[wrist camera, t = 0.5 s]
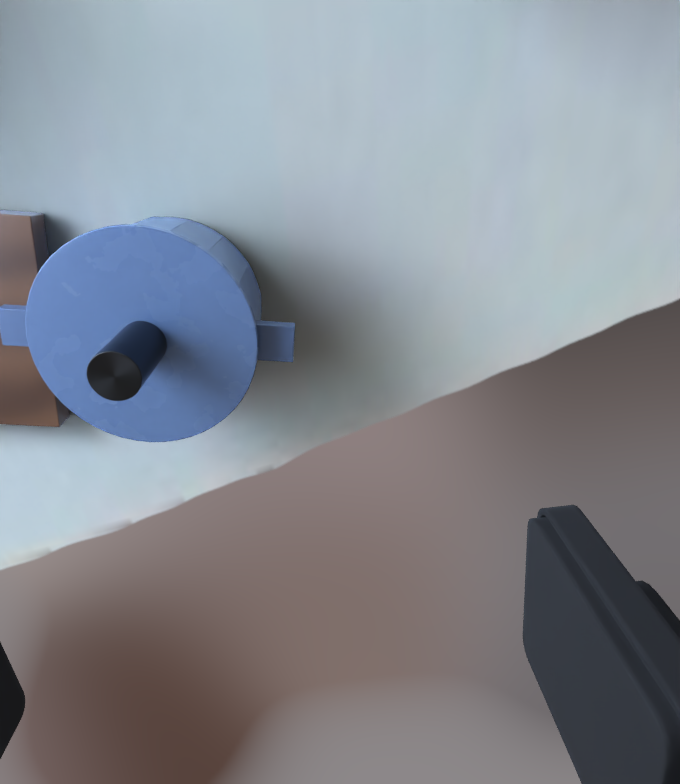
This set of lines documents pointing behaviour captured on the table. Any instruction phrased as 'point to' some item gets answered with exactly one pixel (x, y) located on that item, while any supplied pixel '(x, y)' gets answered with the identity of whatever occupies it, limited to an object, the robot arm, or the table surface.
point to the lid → (142, 333)
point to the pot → (271, 335)
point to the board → (12, 286)
